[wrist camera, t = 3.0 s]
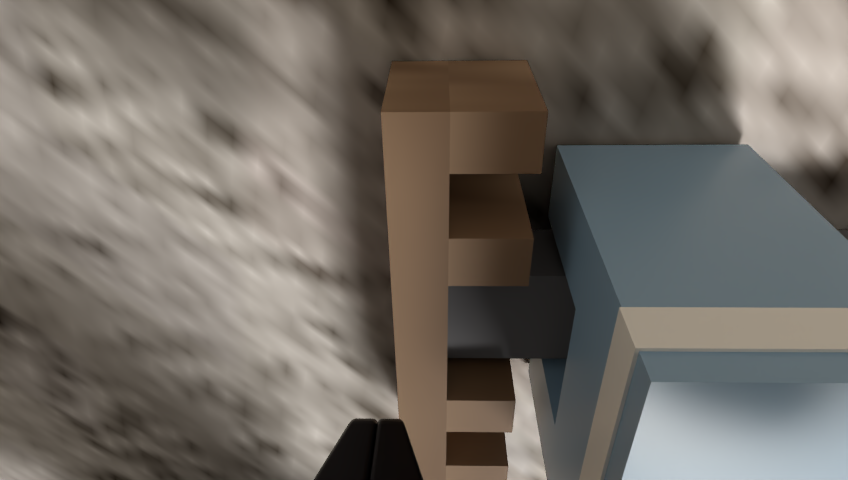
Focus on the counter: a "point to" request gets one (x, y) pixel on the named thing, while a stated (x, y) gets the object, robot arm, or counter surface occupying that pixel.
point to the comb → (456, 245)
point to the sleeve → (694, 321)
